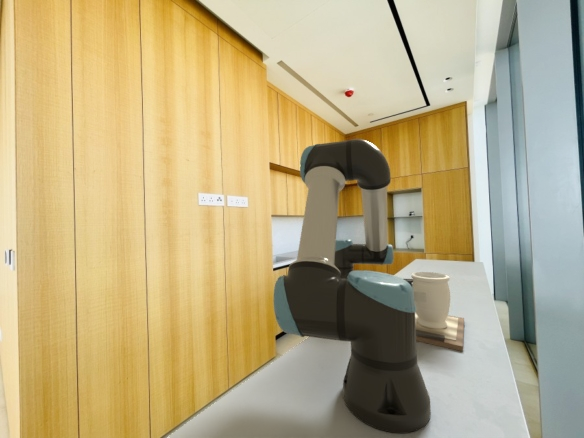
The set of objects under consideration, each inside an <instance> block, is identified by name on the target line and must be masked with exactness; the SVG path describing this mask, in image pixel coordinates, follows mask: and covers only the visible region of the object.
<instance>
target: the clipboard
mask: <svg viewBox="0 0 584 438" xmlns="http://www.w3.org/2000/svg"><path fill="white" fill-rule="evenodd" d="M417 318H418V316H417V314H416V312H415V326H416V342H421V343H425V344H430V345H435V346H437V347H442V348H443V347H444V348H448V349H451V350H456V351H460V352H463V351H464V336H465V318H464V317H459V316H453V315H448V317H447V319H446V320H445V321H446V322H447V327H446V328H443V329H433V328H428V327H424V326H422V325H420V324H418V323H417Z"/></svg>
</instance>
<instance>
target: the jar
mask: <svg viewBox="0 0 584 438" xmlns="http://www.w3.org/2000/svg"><path fill="white" fill-rule="evenodd" d="M410 275H411V279H413V283H412V288H413V291H420V292H426V296H427V302H421V301H415V300H414V301H415V306H416V314H417V316H418V318H417V323H418V324H420V325H422V326H424V327H428V328H433V329H443V328H446V327H447V322H446V321H445V320H446V319H447V317H448V316H449V312H450V307H451V290H450V286H449V285H450V284H449V283H448V282H449V281H450V276H449V275H447V274H444V273H440V272H434V271H433V272H431V271H430V272H429V271H420V272H412V273H411V274H410Z"/></svg>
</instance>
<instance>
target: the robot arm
mask: <svg viewBox="0 0 584 438" xmlns="http://www.w3.org/2000/svg"><path fill="white" fill-rule="evenodd" d="M299 160H300V162H299V165H300V167H299V172H300V178H301V181H302V182H303V184H305V186H306V188H307V194H306V201H305V206H304V207H305V208H304V214H303V220H302V226H301V230H300V231H301V232H300V238H299V244H298V250H297V255H296V260H294V261H293V262H290V264H289V266H288V270H287V275H285V274H283V275H281V276H278V278H277V279H276V281H275V283H274V288H273V311H274V316H275V319H276V323H277V324H278V327H279V329H281V331H282V332H284V333H286V334H290V335H295V336H299V337H300V338H304V337H311V338H318V339H326V340H333V341H341V342H350V357H349V360H348V363H347V367H346V370H345V374H344V378H343V380H342V390H343V391H342V395H343V401H344V403H345V405H346V407H347V408H348V410H349V411H350V412H351V413H352V414H353V415H354V417H356V418H357V419H359V420H360V421H361V422H363V423H365V424H366V425H368V426H370V427H373V428H376V429H378V430H380V431H385V432H388V433H398V434H401V433H403V434H404V433H411V432H414V431H415V432H416V431H418V430H420V429H422V428H424V427H425V426H426V425H427V424H428V423H429V421H430V418H431V414H432V412H431V398H430V393H429V391H428V389H427V387H426V384H425V380H424V379H423V378H424V377H423V374H422V372H421V370H420V367H419V365H418V364H419V363H418V349H417V348H418V347H417V346H418V345H417V341H416V326H415V312H416V306H415V301H421V302H427V296H426V292H420V291H413V288H412V283H413V278H402V277H399V276H397V275H394V274H390V273H386V272H380V271H373V270H365V269H364V270H359V269H357V270H354V265H377V266H379V265H380V266H383V265H392V264H393V263H394V245H392V244H389V243H388V242H389V241H388V187H389V185H390V184H391V182H392V181H391V179H392V177H391V168H390V164H389V163H388V161H387V158H386V156H385V155H384V154H383V152H382V151H381V149H379V148H378V147H377V146H376V145H375V144H373V143H372V142H369V141H367V140H365V139H361V138H353V139H349V140H348V139H347V140H342V141H341V140H340V141H335V142H334V141H333V142H323V143H316V144H314V145H309V146H307V147H306V148H305V149H303V151H302V154H301V155H300V159H299ZM351 181H357V182H356V183H357V186H358V188H359V189H360V190H361V191H360V193H361V202H362V205H361V206H362V215H363V216H362V217H363V227H364V238H365V239H364V240H365V242H364V243H365V244H363V243H362V244H361V243H360V244H359V243H353V239H347V238H344V239H343V238H342V239H341V238H340V239H339V238H338V239H337V230H338V229H337V228H338V215H339V201H340V192H341V191H342V190H343V189H344V188H345V185H346V182H351ZM414 300H415V301H414Z"/></svg>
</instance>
